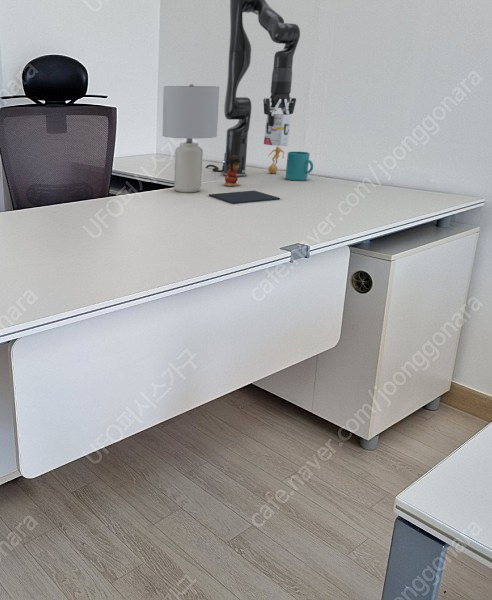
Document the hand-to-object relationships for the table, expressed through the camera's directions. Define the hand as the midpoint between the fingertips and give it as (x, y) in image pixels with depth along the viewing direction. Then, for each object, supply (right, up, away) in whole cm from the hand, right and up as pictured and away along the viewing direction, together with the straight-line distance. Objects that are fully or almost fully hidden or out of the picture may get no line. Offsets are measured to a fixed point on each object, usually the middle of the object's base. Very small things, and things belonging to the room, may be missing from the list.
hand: (277, 125), depth 234 cm
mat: (-17, -31, -17) cm, 39 cm away
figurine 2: (+8, -11, +38) cm, 40 cm away
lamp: (-36, -27, -4) cm, 45 cm away
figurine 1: (-17, -22, +7) cm, 29 cm away
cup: (+15, -17, +21) cm, 31 cm away
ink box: (0, -7, +3) cm, 8 cm away
